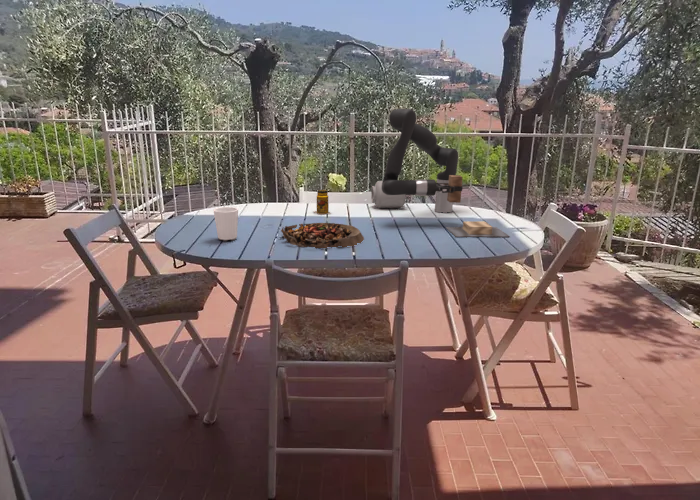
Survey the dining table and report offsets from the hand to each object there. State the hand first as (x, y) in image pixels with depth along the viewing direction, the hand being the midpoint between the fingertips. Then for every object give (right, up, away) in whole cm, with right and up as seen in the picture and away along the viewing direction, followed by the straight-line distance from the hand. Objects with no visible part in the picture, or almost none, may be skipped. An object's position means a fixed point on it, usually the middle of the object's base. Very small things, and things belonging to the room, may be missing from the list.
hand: (460, 187), depth 229 cm
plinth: (+5, -21, -9) cm, 24 cm away
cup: (-103, -25, -26) cm, 109 cm away
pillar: (-3, -6, +2) cm, 7 cm away
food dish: (-63, -25, -22) cm, 71 cm away
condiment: (-66, -10, +25) cm, 71 cm away
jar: (-34, -7, +38) cm, 52 cm away
